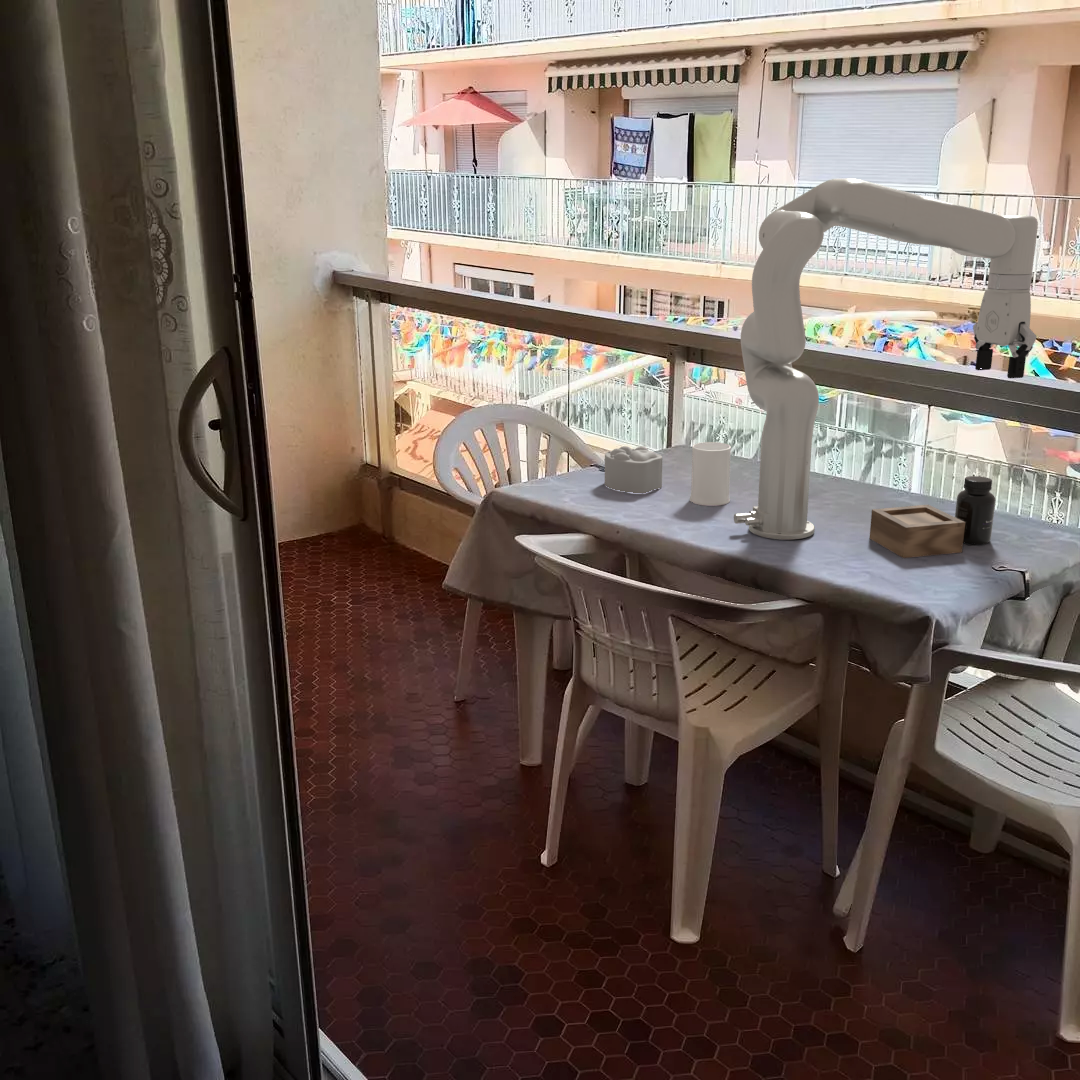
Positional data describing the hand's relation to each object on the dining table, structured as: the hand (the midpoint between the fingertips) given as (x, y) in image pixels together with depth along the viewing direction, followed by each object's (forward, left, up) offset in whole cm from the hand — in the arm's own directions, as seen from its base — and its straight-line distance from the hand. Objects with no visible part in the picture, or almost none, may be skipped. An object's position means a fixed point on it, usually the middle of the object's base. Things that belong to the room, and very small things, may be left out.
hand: (998, 373), depth 215 cm
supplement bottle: (-10, -12, -30) cm, 33 cm away
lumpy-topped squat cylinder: (-60, +43, -30) cm, 80 cm away
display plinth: (-22, -12, -29) cm, 39 cm away
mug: (-46, +28, -30) cm, 62 cm away
